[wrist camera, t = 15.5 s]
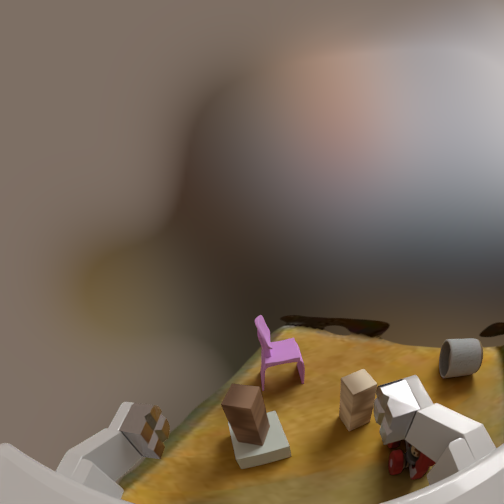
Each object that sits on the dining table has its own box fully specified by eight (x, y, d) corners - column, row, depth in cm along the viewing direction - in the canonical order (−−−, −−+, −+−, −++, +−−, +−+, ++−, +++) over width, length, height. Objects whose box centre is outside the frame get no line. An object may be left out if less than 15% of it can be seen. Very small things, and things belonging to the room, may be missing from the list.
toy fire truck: (388, 488, 22) (407, 459, 19) (384, 426, 33) (395, 387, 30) (433, 478, 20) (459, 445, 17) (422, 419, 31) (438, 378, 28)
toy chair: (307, 386, 47) (301, 325, 43) (262, 394, 47) (248, 335, 43) (299, 361, 55) (293, 302, 51) (260, 368, 55) (247, 310, 51)
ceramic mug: (477, 380, 33) (488, 350, 30) (442, 386, 36) (452, 356, 34) (465, 349, 42) (472, 319, 40) (434, 352, 45) (440, 323, 43)
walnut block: (270, 426, 36) (259, 386, 33) (263, 445, 32) (250, 408, 29) (246, 423, 37) (232, 383, 34) (237, 441, 33) (221, 404, 30)
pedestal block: (278, 423, 40) (275, 410, 39) (291, 457, 32) (289, 446, 31) (233, 434, 39) (228, 422, 38) (241, 470, 31) (235, 459, 30)
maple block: (359, 407, 39) (363, 368, 36) (369, 421, 35) (377, 383, 32) (339, 415, 38) (341, 378, 35) (348, 431, 34) (353, 394, 31)
